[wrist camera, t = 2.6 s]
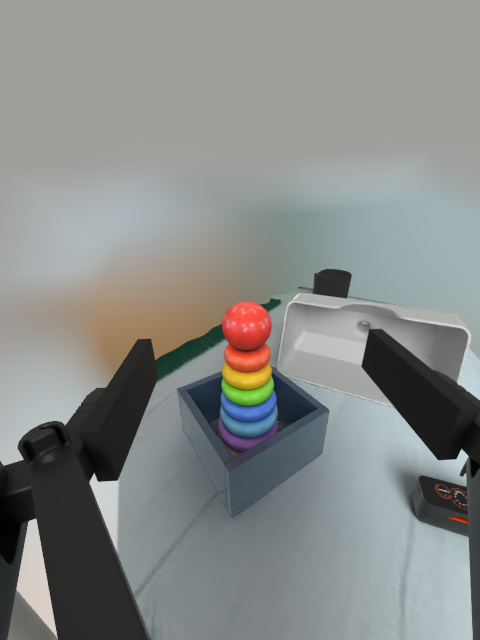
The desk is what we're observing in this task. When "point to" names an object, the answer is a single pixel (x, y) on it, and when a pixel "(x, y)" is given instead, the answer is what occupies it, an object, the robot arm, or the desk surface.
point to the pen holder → (332, 283)
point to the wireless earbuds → (441, 504)
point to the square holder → (263, 459)
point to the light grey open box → (363, 341)
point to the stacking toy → (247, 380)
